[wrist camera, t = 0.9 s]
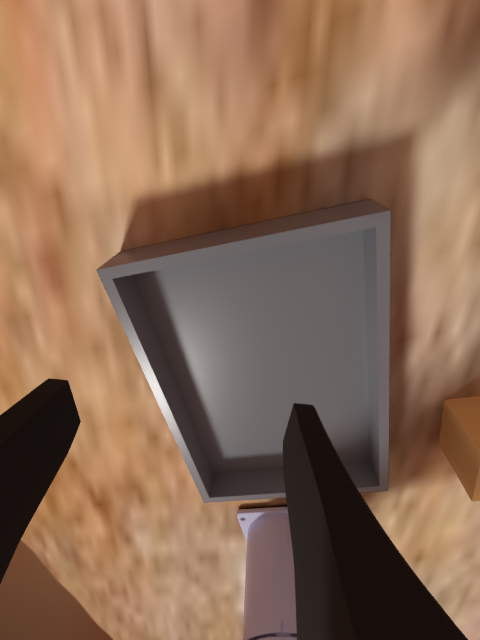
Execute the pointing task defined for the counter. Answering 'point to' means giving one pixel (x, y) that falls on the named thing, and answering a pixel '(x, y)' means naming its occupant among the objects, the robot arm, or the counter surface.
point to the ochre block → (463, 441)
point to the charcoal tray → (265, 342)
